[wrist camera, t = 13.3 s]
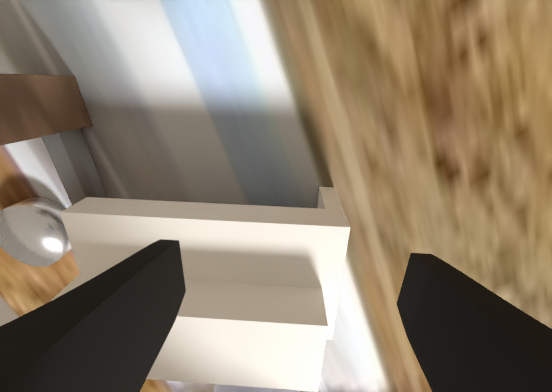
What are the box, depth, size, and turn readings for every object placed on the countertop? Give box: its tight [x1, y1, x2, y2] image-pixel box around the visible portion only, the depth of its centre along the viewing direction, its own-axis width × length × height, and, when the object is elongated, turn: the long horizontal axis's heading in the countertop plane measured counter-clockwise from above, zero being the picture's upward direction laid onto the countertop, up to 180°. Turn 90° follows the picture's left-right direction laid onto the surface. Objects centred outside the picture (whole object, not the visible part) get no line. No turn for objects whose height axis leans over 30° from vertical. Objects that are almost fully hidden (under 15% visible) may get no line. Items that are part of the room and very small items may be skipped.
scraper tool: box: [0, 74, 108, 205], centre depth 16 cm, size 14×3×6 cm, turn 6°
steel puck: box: [0, 197, 72, 266], centre depth 20 cm, size 5×5×2 cm
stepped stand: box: [51, 187, 350, 392], centre depth 17 cm, size 9×15×8 cm, turn 88°
